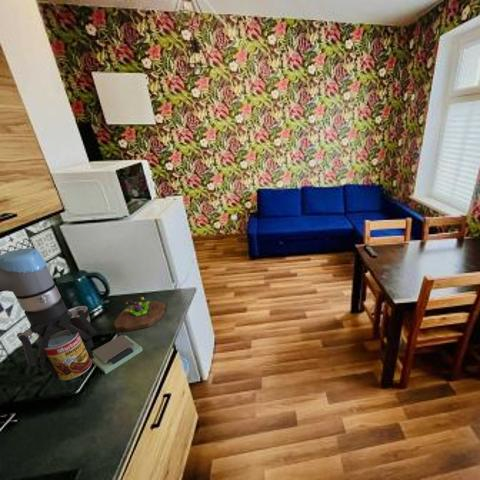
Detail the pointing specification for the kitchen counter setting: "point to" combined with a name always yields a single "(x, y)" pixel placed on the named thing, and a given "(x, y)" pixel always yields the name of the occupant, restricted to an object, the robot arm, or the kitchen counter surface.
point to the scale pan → (112, 348)
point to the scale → (117, 358)
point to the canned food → (68, 355)
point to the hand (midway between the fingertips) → (74, 366)
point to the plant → (139, 315)
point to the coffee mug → (77, 322)
